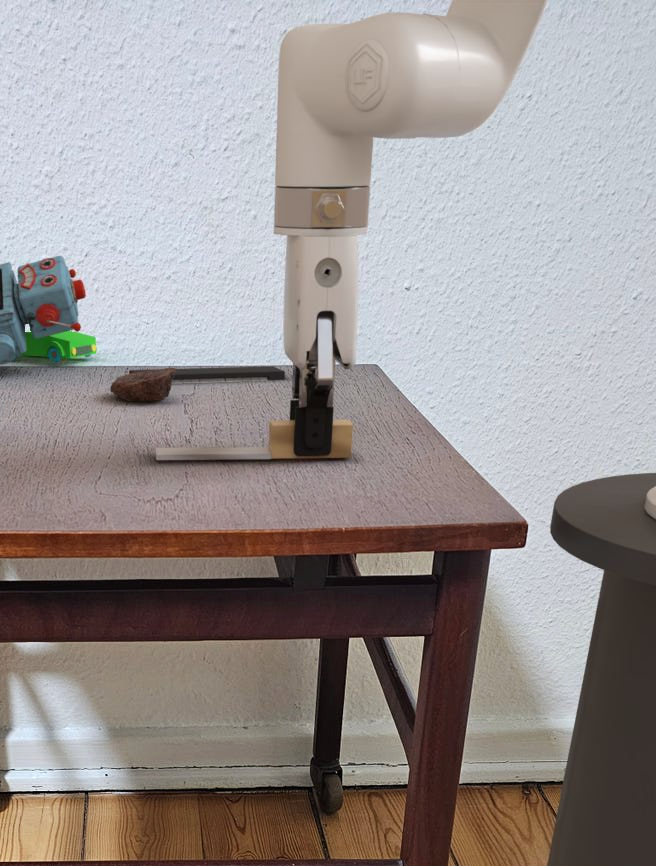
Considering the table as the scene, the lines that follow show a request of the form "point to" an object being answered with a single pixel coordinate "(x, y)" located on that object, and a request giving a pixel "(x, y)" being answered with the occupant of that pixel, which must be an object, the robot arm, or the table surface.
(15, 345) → the toy robot
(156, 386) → the stone
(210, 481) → the table surface
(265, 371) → the dark grey flat bar
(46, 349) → the toy car
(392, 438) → the table surface
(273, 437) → the knife
